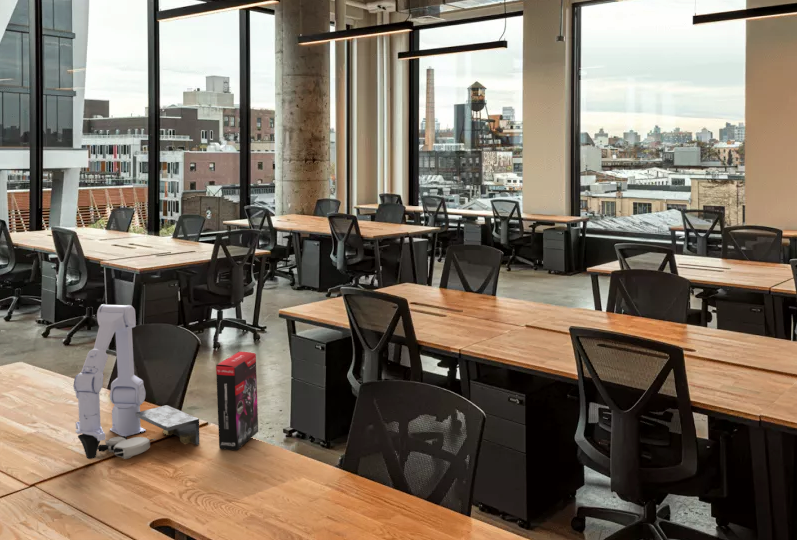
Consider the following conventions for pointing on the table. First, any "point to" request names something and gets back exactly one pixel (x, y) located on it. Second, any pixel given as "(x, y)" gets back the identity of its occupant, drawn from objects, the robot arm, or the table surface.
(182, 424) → the overhang shelf
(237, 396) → the graphics card box
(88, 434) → the robot arm
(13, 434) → the table surface
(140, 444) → the robot toy
